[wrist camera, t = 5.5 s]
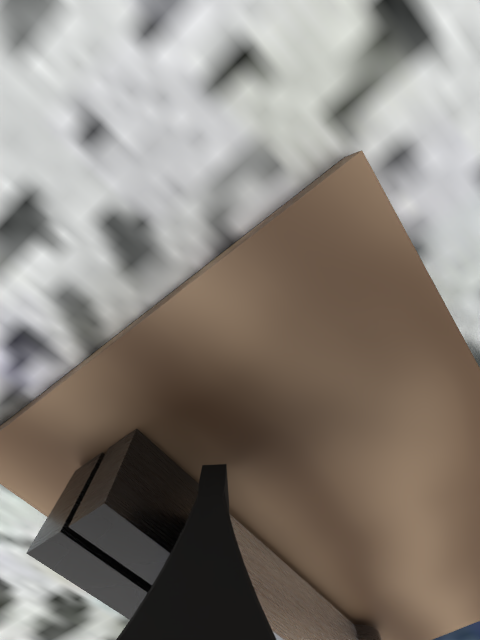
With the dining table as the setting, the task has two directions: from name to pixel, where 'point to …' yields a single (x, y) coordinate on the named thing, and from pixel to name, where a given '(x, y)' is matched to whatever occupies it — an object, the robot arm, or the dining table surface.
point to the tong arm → (166, 525)
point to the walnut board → (300, 407)
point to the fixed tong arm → (86, 551)
